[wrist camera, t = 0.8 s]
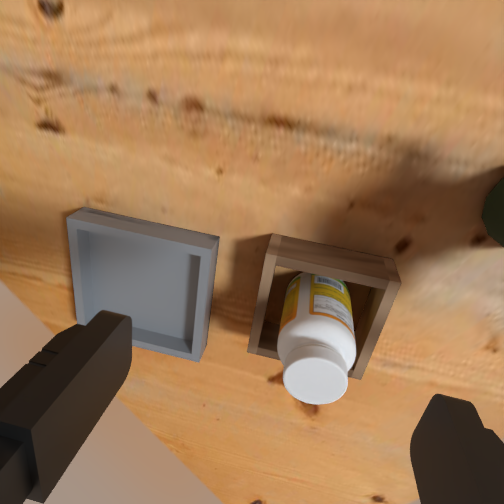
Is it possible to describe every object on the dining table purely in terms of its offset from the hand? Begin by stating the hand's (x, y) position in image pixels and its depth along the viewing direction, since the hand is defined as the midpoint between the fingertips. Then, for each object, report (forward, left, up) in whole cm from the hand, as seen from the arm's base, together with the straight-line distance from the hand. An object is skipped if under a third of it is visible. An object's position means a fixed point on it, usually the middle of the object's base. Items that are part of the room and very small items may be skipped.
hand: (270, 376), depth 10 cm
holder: (+10, +3, -19) cm, 22 cm away
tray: (+12, -12, -19) cm, 26 cm away
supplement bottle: (+10, +3, -20) cm, 22 cm away
